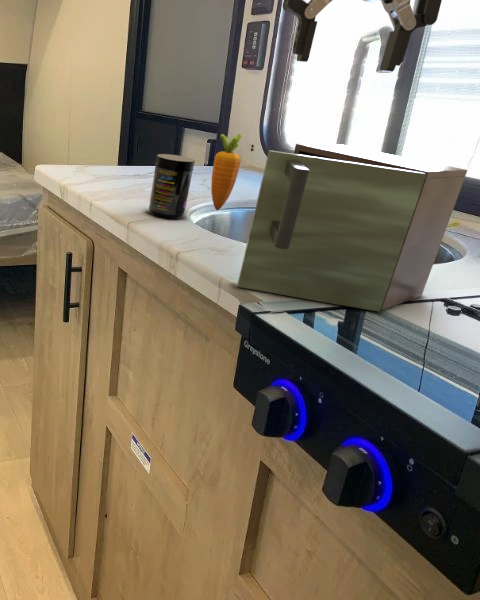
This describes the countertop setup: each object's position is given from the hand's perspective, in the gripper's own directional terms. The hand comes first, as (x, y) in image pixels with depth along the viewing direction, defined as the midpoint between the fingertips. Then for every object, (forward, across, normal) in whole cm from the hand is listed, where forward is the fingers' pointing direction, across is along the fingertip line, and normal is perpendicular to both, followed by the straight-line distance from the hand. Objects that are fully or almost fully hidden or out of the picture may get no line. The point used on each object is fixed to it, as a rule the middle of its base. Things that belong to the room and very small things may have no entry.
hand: (343, 66), depth 61 cm
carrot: (+27, +2, -52) cm, 58 cm away
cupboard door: (+27, -4, -3) cm, 28 cm away
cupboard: (+27, -12, -16) cm, 34 cm away
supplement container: (+27, +12, -41) cm, 51 cm away
